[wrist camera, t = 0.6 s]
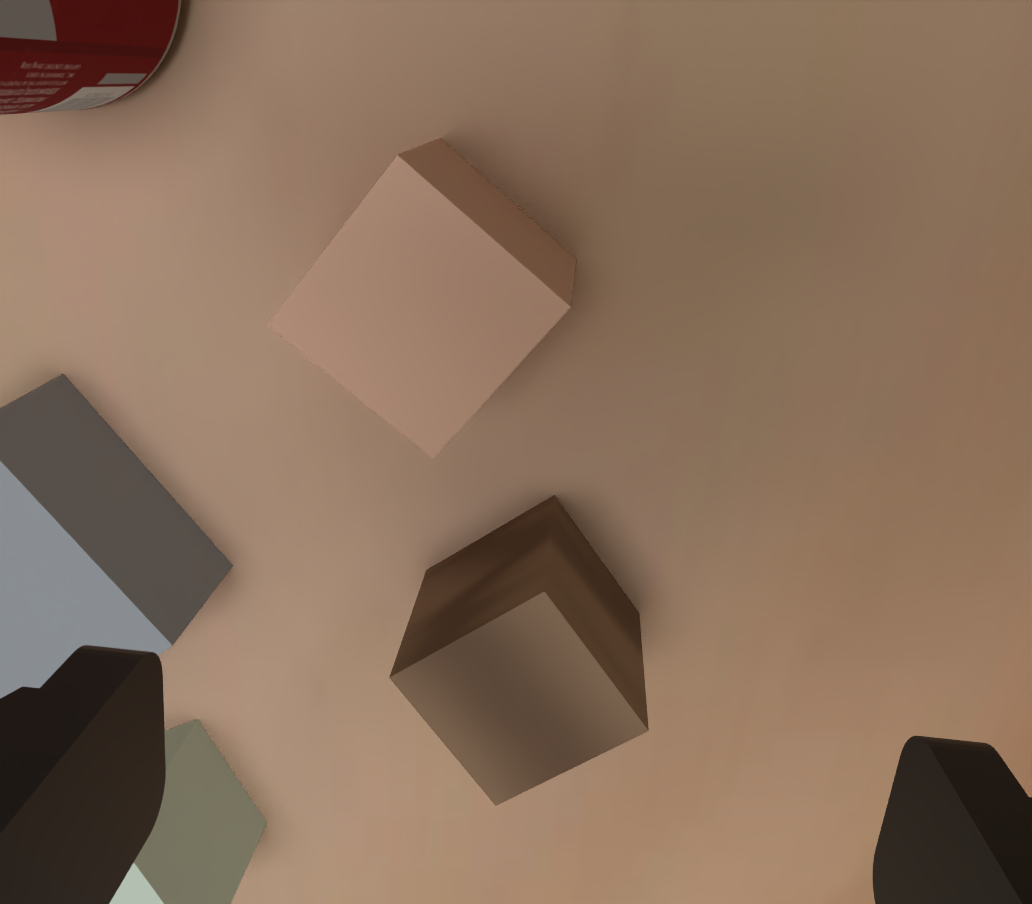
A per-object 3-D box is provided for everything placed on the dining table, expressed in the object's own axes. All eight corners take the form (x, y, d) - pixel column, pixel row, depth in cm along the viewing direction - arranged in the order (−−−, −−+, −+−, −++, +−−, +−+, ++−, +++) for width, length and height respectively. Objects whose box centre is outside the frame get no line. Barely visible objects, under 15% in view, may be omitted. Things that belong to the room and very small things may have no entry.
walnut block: (554, 494, 30) (544, 591, 24) (639, 612, 31) (648, 730, 25) (426, 569, 31) (389, 677, 25) (513, 679, 32) (495, 805, 27)
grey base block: (66, 371, 30) (-32, 426, 25) (234, 562, 32) (172, 645, 27) (-96, 500, 32) (-215, 572, 27) (71, 671, 34) (-13, 765, 29)
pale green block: (198, 718, 34) (119, 843, 28) (267, 821, 35) (205, 960, 30) (85, 758, 35) (-12, 886, 29) (156, 857, 37) (77, 996, 31)
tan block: (440, 138, 26) (397, 154, 20) (576, 259, 27) (571, 307, 21) (333, 275, 28) (266, 324, 22) (465, 385, 29) (432, 459, 23)
